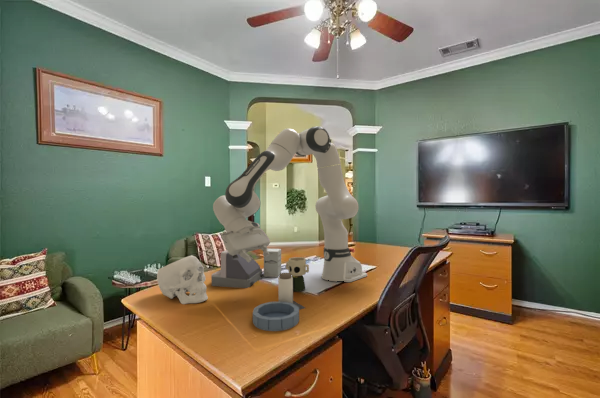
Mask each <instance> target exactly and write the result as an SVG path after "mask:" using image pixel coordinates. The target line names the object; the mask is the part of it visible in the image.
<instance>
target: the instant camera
mask: <svg viewBox="0 0 600 398" xmlns="http://www.w3.org/2000/svg"><path fill="white" fill-rule="evenodd" d="M210 278H211V287H223V288H224V287H225V288H226V287H227V288H241V289H248V288H250V287H252V286H253V285H254V284H255V283H257V282H258V281H259V280H260V279H261V278H264V273H263V270H262V268H261V266H260V264H259V263H258V262H257V261H256V260H255V259H254V258H253V260H252V261H251V262H247V261H246V259H244V258H243V257H241V256H240V255H239V254H238V255H234V256H232V255H230V254H229V253H228V251H227V249H226V250H223V251H221V252H220V270H218V271H214V272H212V273H211V277H210Z"/></svg>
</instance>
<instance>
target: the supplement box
mask: <svg viewBox="0 0 600 398" xmlns="http://www.w3.org/2000/svg"><path fill="white" fill-rule="evenodd" d="M267 250H268V252H269V254H270V255H269V256H268V257H264V256H263V278H264V277H265V278H266V277H267V278H269V277H270V278H278V276H279V275H280V274H281V273H282V249H281V248H267ZM279 277H280V276H279Z"/></svg>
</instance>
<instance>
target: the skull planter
mask: <svg viewBox="0 0 600 398" xmlns="http://www.w3.org/2000/svg"><path fill="white" fill-rule="evenodd" d="M156 280H157V285H158V288H159V290H160V291H161V293H162V295H163V296H165V297H167V298H169V299H171V300H173V299H174V298H175V297H177V298H178V300H179V303H180V304H182V305H188V304H199V303H203V302H204V301H207V300H208V298H209V297H208V294H207V288H208V287H207V285H206V284H205V282H206V275H205V267H204V266H203V264H202V262H201V261H200V260H199V259H198V258H197V257H196V256H195V255H192V254H191V255H188V256H185V257H182V258H181V259H178V260H175V261H173V262H171V263H168V264H167V265H164V266H163V267H161V268H158V270H157V274H156ZM186 293H188V295H187V294H186Z"/></svg>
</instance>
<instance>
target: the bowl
mask: <svg viewBox="0 0 600 398" xmlns="http://www.w3.org/2000/svg"><path fill="white" fill-rule="evenodd" d="M299 322H300V310H299V307H298V306H296V305H295V304H293V303H289V302H282V301H279V300H278V301H268V302H265V303H261V304H259V305H257V306H255V307H254V308H253V310H252V324H253V325H254V326H255V328H257V329H259V330H262V331H268V332H281V331H286V330H290V329H292V328H294V327H296V326H297V325H298V323H299Z"/></svg>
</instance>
